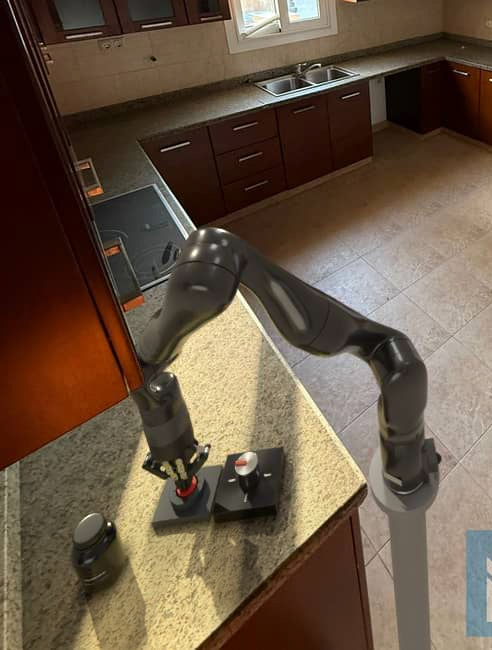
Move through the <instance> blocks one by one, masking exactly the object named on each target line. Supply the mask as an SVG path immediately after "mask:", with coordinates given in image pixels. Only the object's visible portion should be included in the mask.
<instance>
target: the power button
mask: <svg viewBox="0 0 492 650" xmlns="http://www.w3.org/2000/svg"><path fill="white" fill-rule="evenodd" d="M197 485H198V484H197V480H196V478H195V477H194V476H193V480H192V483H191V487H189V489H188V491H182V492H180V490H179V489H177V493H178V496H179V498H185V497H187V496H189V495H190V494H192V493H193V491H194V490H195V489H196V488H197Z"/></svg>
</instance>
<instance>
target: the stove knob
mask: <svg viewBox="0 0 492 650" xmlns="http://www.w3.org/2000/svg"><path fill="white" fill-rule="evenodd" d="M246 452H247V453H244V454H243V455H241V456H240V457H239V459H238V460H237V462H236V463H235V471H236V475H237V479H238V483H239V486H240V488H241V489H243V490H249V489H252V488H253V487H255V486H256V485H257V483H258V482H259V480H260V477H261V471H260V467H259V462H258V458H257V455H256V454H255V453H253V452H250V451H246Z"/></svg>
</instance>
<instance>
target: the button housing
mask: <svg viewBox="0 0 492 650" xmlns="http://www.w3.org/2000/svg"><path fill="white" fill-rule="evenodd" d="M223 470H224V465H223V464H215V465H209V466H208V465H207V466H202V467H201V468H200V469H199V471H198V472H197V473H196V475H195V476H194V477H195V478H196V480H197V484H198V485H197V488H196V489H195V490H194V491H193V493H192V494H190V495H189V496H187V497H185V498H179V496H178V493H177V488H176V485H175V482H174V481H173V480H172V478H168V479H167V480H165V484H164V486H163V490H162V492H161V495H160V498H159V500H158V503H157V506H156V508H155V511H154V514H153V517H152V520H151V522H150V523H151V526H152V528H153V529H155V528H156V529H157V528H163V527H168V526H174V525H175V526H176V525H181V524H188V523H195V522H200V521H206V520H207V521H208V520H212V518H213V515H212V513H213V509H214V506H215V502H216V498H217V494H218V490H219V486H220V482H221V478H222V474H223Z"/></svg>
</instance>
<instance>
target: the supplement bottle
mask: <svg viewBox="0 0 492 650" xmlns="http://www.w3.org/2000/svg"><path fill="white" fill-rule="evenodd" d="M120 534H121V533H120V532H119V529H118V527H117V524H116V522H115V521H114V520H113V519H111V518H107V517H106V516H105V515H104V513H102V512H98V511H96V512H93V513H90V514H88V515H87V516H85V517H84V518H83V519H81V521H80V522H79V523H78V524H77V525H76V527H75V529H74V530H73V532H72V537H71V542H72V547H71V549H70V556H69V557H70V562H71V565H72V567H73V569H74V572H75V574H76V577H77V578H78V581H79V583H80V586H81V587H82V589H83V592H85V593H86V594H88V595H96V594H100V593H102V592H104V591H106V590H107V589H108V588H110V587H111V586H112V585H114V583H115V582H116V580H118V578H119V577H120V575H121V574H122V572H123V569H124V567H125V564H126V562H127V553H126V552H127V551H126V548H125V546H124V543H123V540H122V538H121V535H120Z"/></svg>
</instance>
